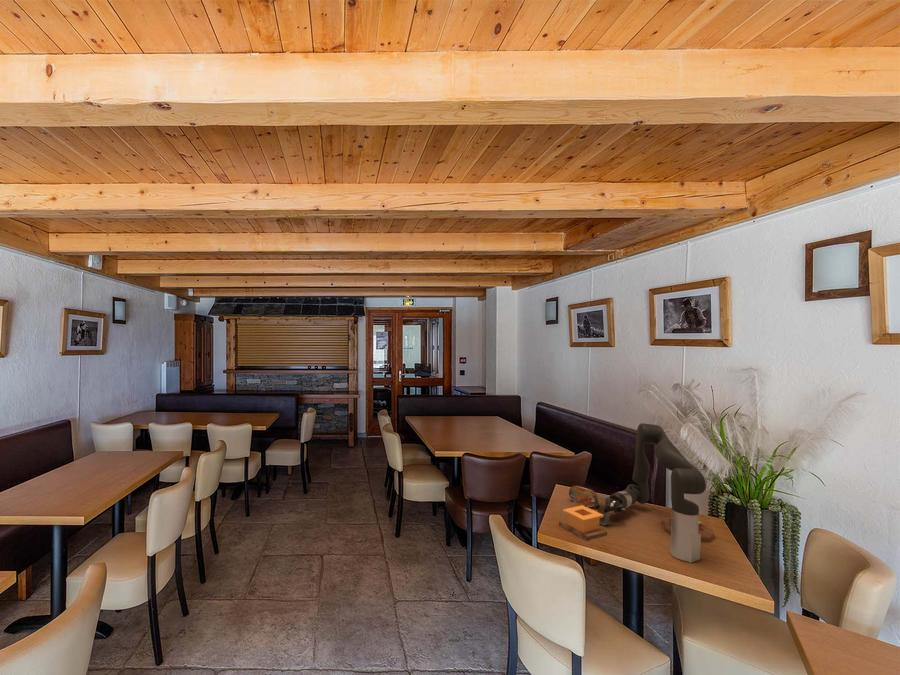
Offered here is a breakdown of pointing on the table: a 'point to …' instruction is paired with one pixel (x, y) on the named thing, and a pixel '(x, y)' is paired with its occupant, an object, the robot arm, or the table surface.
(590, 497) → the tin
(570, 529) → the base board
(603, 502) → the dark grey rectangular block
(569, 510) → the orange square collar
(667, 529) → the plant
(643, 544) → the table surface
